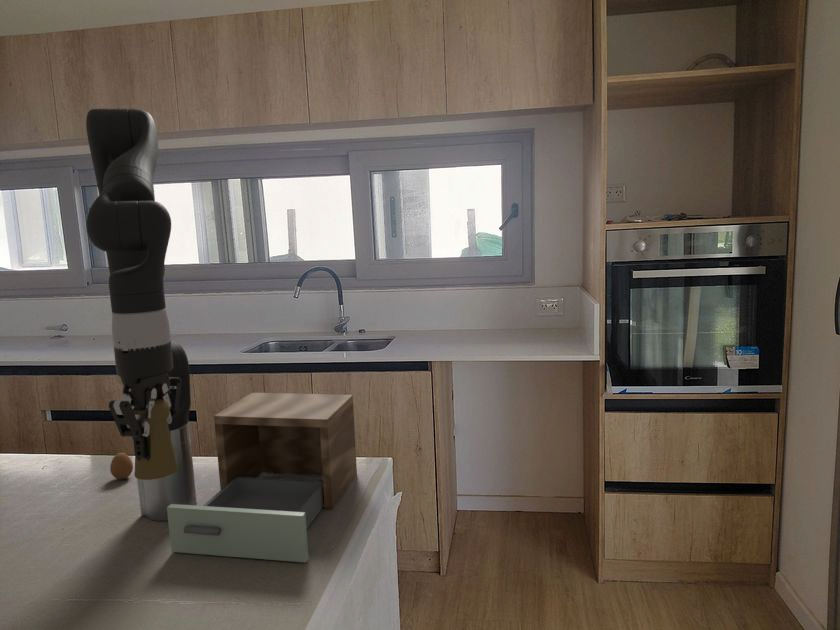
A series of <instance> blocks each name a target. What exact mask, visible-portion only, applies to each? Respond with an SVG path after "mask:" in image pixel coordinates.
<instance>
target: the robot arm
mask: <svg viewBox="0 0 840 630" xmlns="http://www.w3.org/2000/svg"><path fill="white" fill-rule="evenodd" d="M85 120H86V121H85V128H86V135H87V141H88V142H87V143H88V146H89V151H90V157H91V161H92V166H93V170H94V175H95V181H96V185H97V190H98V196H97V197H96V198H95V200H94V201H93V203H92V204H91V206H90V208H89V210H88V213H87V216H86V217H87V218H86V233H87V235H88V238H89V240H90V241H91V243H92V244H93V245H94V247H96V248H97V249H98V250H101V251H102V252H106V257H107V259H106V260H107V265H108V270H109V277H108V291H109V298H110V307H111V308H110V309H111V335H112V336H111V337H112V344H113V353H114V362H115V370H116V374H117V376H118V377H120V380H121V383H122V386H123V387H122V395H121V396H120V397H119V398H118V399H117V400H110V401H109V403H108V409H109V411H110V414H111V416H112V417H113V420H114V423H115V425H116V427H117V430H118V432H119V435H120V437H122V438H123V437H128V438H129V437H130V438H131V439H133V448H134V458H135V457H136V459H137V460H138V461H140V460H141V458H142V459H145V458H146V460H147V461H149V460H150V458H151V454H150V435H149V433H150V424H149V423H148V421H149V420H150V419H151V418H152V412H151V411H152V409H153V407H154V402H155V401H156V400H160V399H161V400H164V401H166V402H167V403H168V405H169V408H170V413H169V416H168V418H167V424H168V428H169V432H170V436H171V440H172V444H173V448H174V452H175V455H176V459H177V463H178V470H177V471H176V472H174V473H173V474H171V475H168V476H166V477H162V478H158V479H152V480H142V479H138V478H136V483H137V489H138V491H137V492H138V497H139V507H140V508H139V509H140V516H145V517H146V518H147V519H149V520H151V521H158V522H159V521H160V522H161V521H168V514H167V507H168V506H169V505H170V504H179V505H195V506H198V504H197V503H198V502H197V501H198V500H197V492H196V482H195V472H194V471H195V470H194V462H193V461H194V459H193V451H192V442H191V431H190V421H189V413H190V409H191V405H192V404H191V403H192V402H191V401H192V400H191V398H192V397H191V377H190V376H191V375H190V374H191V373H190V363H189V360H188V356H187V353H186V351H185V349H184V347H182V345H181V344H180V343H179V342H178V341H176V340H173V339H171V330H170V329H171V328H170V322H169V317H168V314H167V309H166V298H165V297H166V295H165V286H164V284H165V283H164V277H165V271H166V270H165V261H166V256H167V255H166V254H167V251H168V248H169V247H168V246H169V242H170V238H171V231H172V218H171V215H170V213H169V210H167V208H166V207H165V206H164V205H163V204H162V203H161V202H158V201H156V199H155V198H156V197H155V190H154V189H155V188H154V174H155V170H156V168H157V167H156V166H157V163H158V162H157V160H158V157H159V139H158V131H157V127H156V123H155V122H156V121H155V120H154V118H153V116H152V115H151V114H150V113H149V112H148V111H146V110H144V109H138V108H92V109H90V110H88V112H87V114H86V119H85ZM133 409H134V410H141V411H143V410H146V411H145V414H144V415H135V414H134V412H133ZM137 420H141V421H142V428H140V427H139V424H138V422H137ZM148 435H149V436H148Z"/></svg>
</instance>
